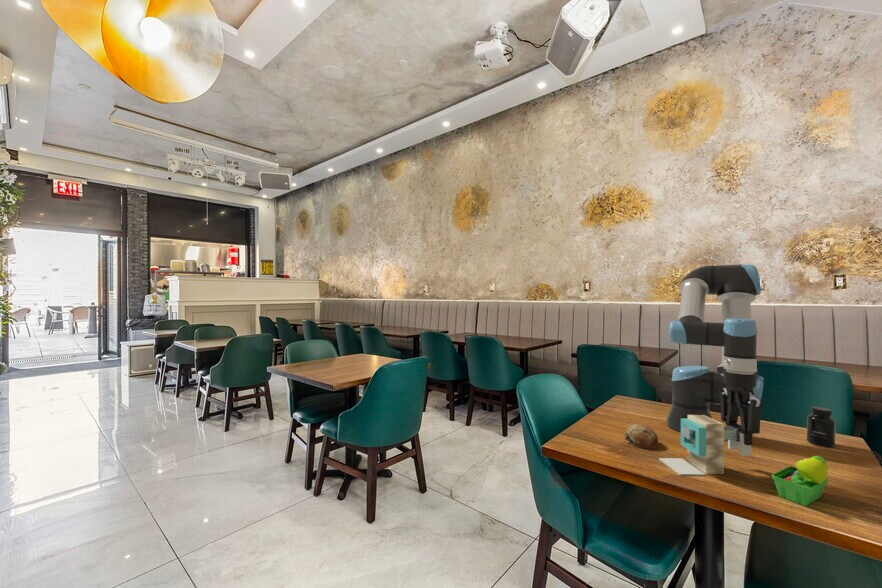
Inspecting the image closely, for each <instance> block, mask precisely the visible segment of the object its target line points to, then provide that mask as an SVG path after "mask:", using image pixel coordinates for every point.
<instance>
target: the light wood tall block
mask: <svg viewBox="0 0 882 588" xmlns="http://www.w3.org/2000/svg"><path fill="white" fill-rule="evenodd" d="M688 419H689V420H691V421H693V422H695V423H697V424H699V425H701V426H703V427H705V428H706V456H697V455H696V454H694V453H693V452H691V451H690V450H688V449H687V454H686V456H687V457H686V458H687V459H686V461H687V462H688V463H689V464H691V465H692V466H694V467H695V468H697V469H698V470H700V471H701V472H703V473H704V474H705V475H724V474H725V440H724V427H725V424H724V423H722V422H720V421H718V420H716V419H714V418H710V417H707V416H705V415H688ZM691 442H692V443H693V444H695V440H691Z"/></svg>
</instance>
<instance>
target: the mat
mask: <svg viewBox="0 0 882 588" xmlns="http://www.w3.org/2000/svg"><path fill="white" fill-rule="evenodd" d="M658 460H659V462H662V463H663V464H664V465H666V466H667V467H668V468H669V469H671V470H672V471H673V472H675V473H676V474H677V475H679V476H692V477H693V476H698V477H699V476H702V477H703V476H705V477H706V473H704V472H703V471H701V470H700V469H698V468H697V467H695V466H694V465H692V464H691V463H689V462H688V461H687V460H685V459H684V458H683V457H679V458H677V457H675V458H673V457H669V458H668V457H666V458H665V457H659V458H658Z"/></svg>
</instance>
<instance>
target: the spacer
mask: <svg viewBox="0 0 882 588" xmlns="http://www.w3.org/2000/svg"><path fill="white" fill-rule="evenodd" d="M683 426H686V427H688V428H690V429H692V430H694V431H695V444H693V443H692V442H691V440H689V439H687V438H686V437H684V436H683ZM680 446H682V447H683V448H684V449H688V450H690V451H691V452H693V453H694V454H696V455H697V456H706V428H705V427H703V426H701V425H699V424H697V423H695V422H693V421H691V420H689V419H687V418H681V432H680Z"/></svg>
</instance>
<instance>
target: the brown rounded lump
mask: <svg viewBox="0 0 882 588" xmlns="http://www.w3.org/2000/svg"><path fill="white" fill-rule="evenodd" d="M624 440H625V441H626V444H629V445H632V446H633V447H634V446H635V447H637V448H640V449H654V448H656V447H657V445H658V444H659V438H658V435H657V434H656V432H655V431H654V430H653V429H652V428H651V427H649V426H648V425H645V424H639V423H636V424H630V425H629V426H627V428H626V429H625V431H624Z"/></svg>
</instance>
